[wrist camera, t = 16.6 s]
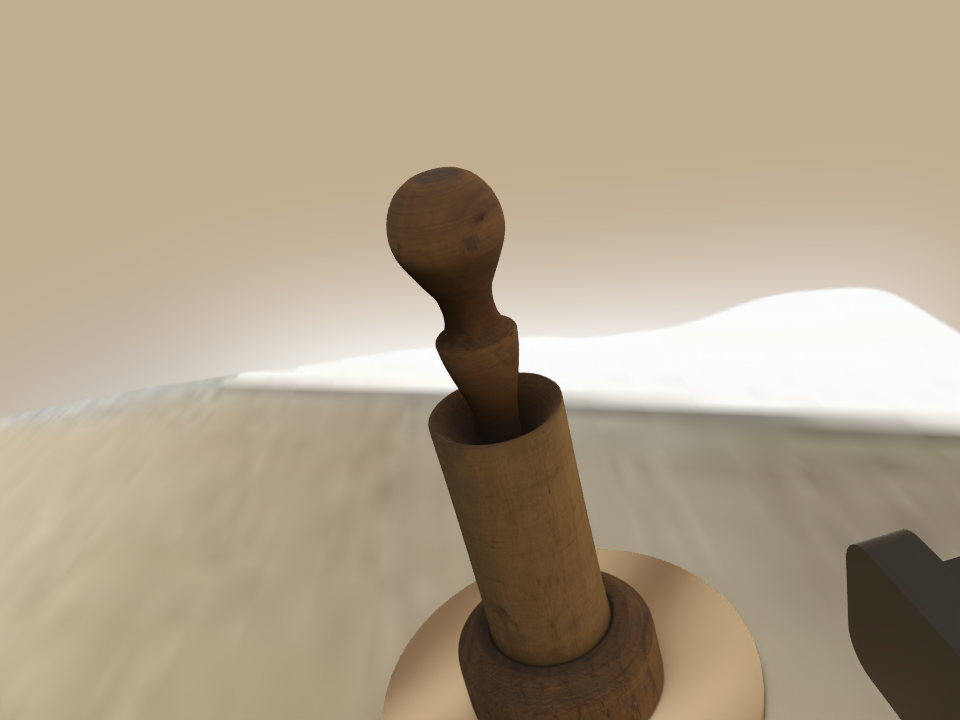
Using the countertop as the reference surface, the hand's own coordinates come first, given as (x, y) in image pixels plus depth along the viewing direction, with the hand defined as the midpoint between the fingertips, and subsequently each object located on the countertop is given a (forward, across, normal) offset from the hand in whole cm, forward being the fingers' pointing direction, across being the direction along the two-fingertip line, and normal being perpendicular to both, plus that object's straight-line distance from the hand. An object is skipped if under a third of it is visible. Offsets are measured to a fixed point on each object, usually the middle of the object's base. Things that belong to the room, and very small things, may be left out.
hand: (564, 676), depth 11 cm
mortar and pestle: (+13, -1, +15) cm, 20 cm away
